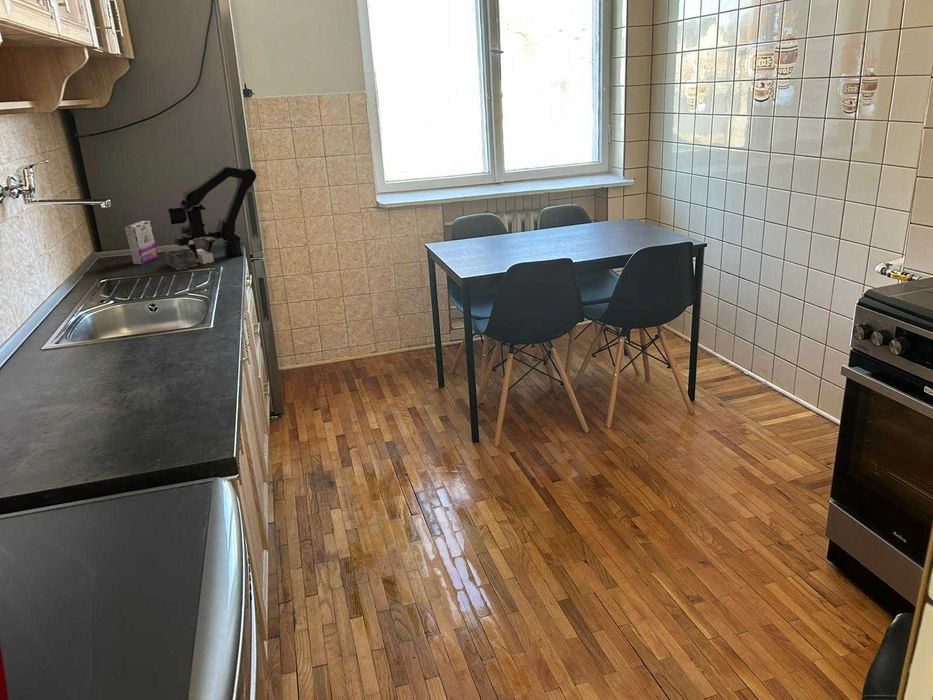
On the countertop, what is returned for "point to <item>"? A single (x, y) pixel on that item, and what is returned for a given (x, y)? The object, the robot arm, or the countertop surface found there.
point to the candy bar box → (141, 242)
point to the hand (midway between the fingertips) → (202, 257)
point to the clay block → (204, 256)
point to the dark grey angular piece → (181, 259)
